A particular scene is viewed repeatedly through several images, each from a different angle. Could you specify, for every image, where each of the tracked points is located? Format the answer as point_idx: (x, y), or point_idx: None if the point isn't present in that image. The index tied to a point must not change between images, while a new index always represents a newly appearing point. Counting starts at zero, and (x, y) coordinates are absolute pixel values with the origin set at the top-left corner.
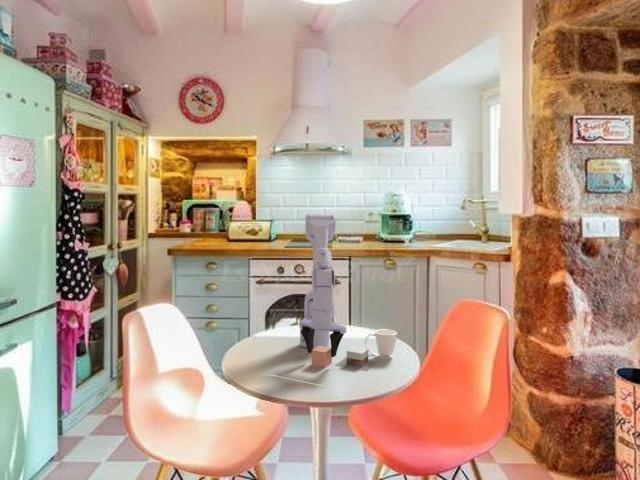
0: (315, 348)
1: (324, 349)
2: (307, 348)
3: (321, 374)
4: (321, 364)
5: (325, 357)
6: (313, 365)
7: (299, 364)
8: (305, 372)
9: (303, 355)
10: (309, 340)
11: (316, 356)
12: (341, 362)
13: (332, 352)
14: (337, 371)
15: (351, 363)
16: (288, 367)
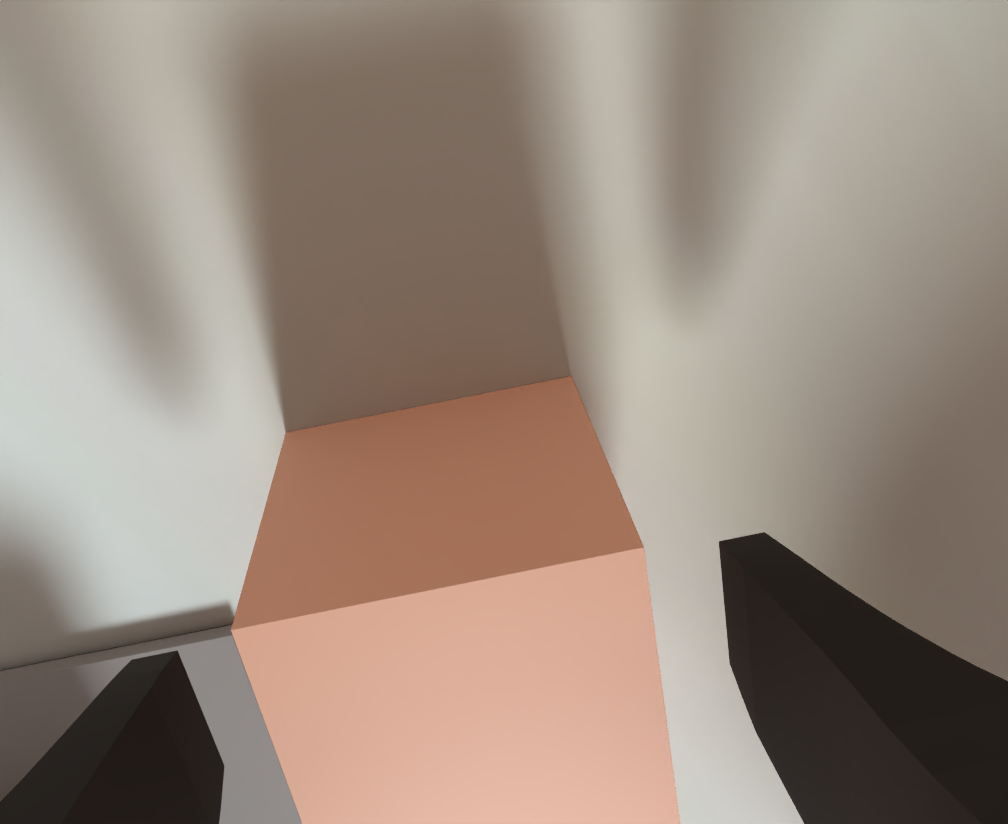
0: (629, 678)
1: (398, 752)
2: (812, 573)
3: (121, 146)
4: (361, 446)
5: (254, 552)
6: (532, 391)
7: (809, 300)
8: (451, 15)
9: (968, 659)
10: (869, 764)
11: (488, 498)
12: (245, 776)
13: (91, 723)
14: (23, 468)
15: None
16: (915, 18)
